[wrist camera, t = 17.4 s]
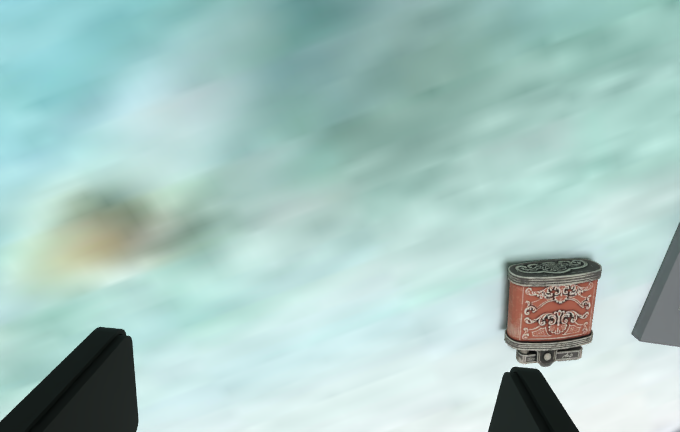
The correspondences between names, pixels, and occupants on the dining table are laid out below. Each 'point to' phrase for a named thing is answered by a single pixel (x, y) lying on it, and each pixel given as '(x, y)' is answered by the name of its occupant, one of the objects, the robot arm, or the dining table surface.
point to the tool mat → (663, 302)
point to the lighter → (551, 309)
